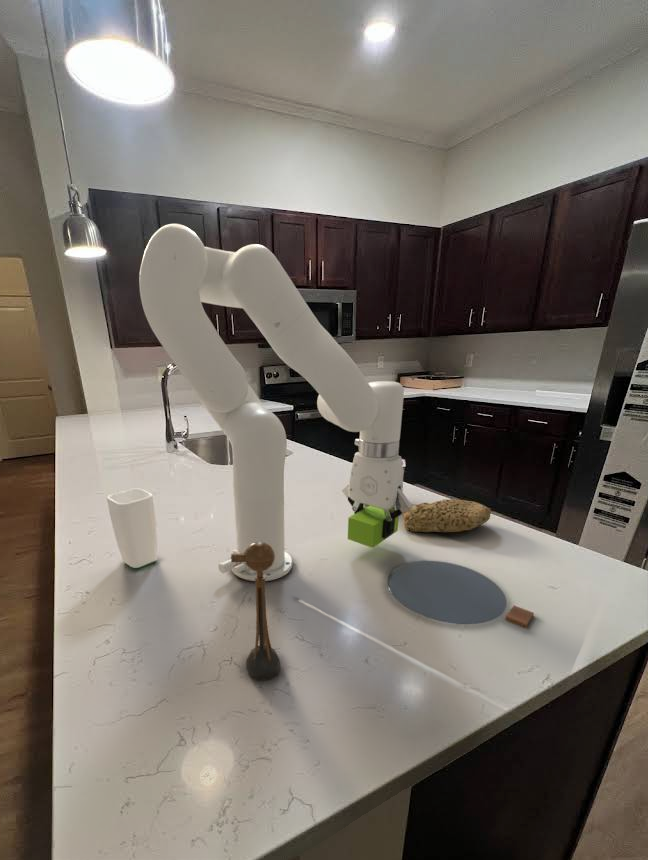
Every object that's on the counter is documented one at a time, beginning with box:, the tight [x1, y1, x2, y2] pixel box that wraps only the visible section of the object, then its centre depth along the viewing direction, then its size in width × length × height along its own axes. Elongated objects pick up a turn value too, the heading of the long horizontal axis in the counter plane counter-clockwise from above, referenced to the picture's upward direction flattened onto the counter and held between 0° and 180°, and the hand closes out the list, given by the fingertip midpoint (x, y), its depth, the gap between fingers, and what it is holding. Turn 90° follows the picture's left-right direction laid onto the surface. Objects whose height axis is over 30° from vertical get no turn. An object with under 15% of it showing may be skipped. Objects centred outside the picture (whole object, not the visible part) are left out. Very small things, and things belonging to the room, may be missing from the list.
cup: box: [106, 487, 158, 569], centre depth 85 cm, size 7×7×15 cm
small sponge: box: [347, 506, 400, 549], centre depth 88 cm, size 10×6×5 cm, turn 136°
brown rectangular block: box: [505, 605, 535, 628], centre depth 68 cm, size 4×3×1 cm
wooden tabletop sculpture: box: [230, 542, 281, 681], centre depth 55 cm, size 6×5×20 cm
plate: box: [386, 560, 507, 625], centre depth 76 cm, size 20×20×1 cm
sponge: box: [402, 498, 492, 533], centre depth 99 cm, size 13×8×20 cm
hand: (373, 530), depth 88 cm, fingers closed on small sponge, 6 cm apart
